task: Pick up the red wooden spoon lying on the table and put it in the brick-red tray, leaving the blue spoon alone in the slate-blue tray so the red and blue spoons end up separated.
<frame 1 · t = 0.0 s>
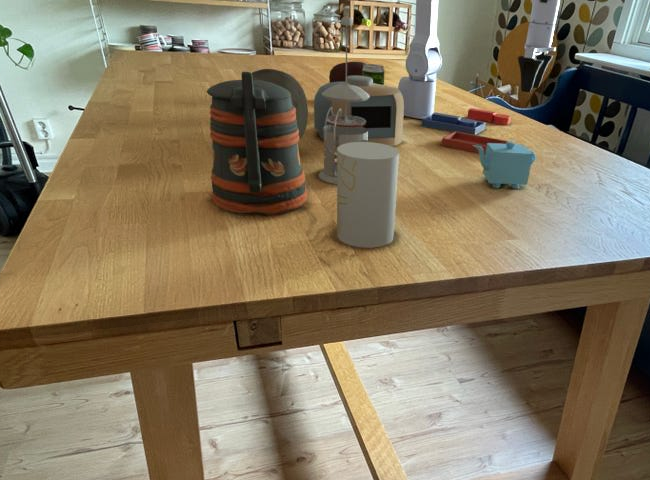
hand: (529, 89, 132), 10 cm above the table, tool pointing down, fingers open, 7 cm apart
cup: (365, 237, 80), on the table
alarm clock: (357, 137, 124), on the table
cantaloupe: (274, 155, 109), on the table
red spoon: (489, 121, 147), on the table
tankard: (262, 207, 86), on the table
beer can: (371, 119, 140), on the table
blue spoon: (454, 126, 138), resting on blue tray
blue tray: (453, 127, 138), on the table
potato: (352, 103, 154), on the table
teapot: (498, 184, 104), on the table
french press: (343, 178, 100), on the table
red tray: (476, 147, 124), on the table
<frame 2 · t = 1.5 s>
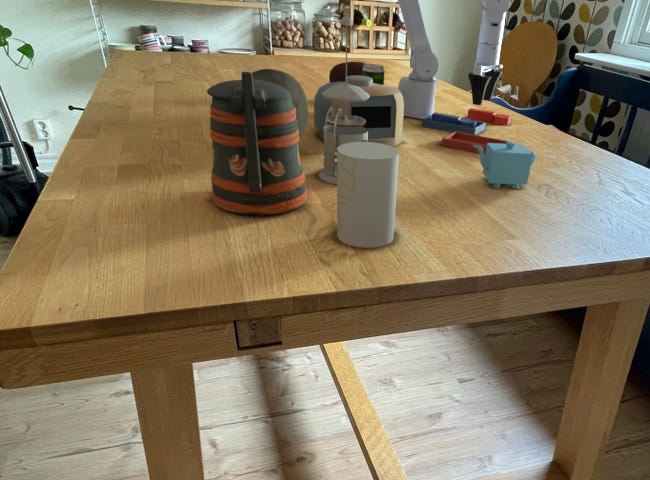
hand: (481, 102, 145), 4 cm above the table, tool pointing down, fingers open, 7 cm apart
nothing on the table moved.
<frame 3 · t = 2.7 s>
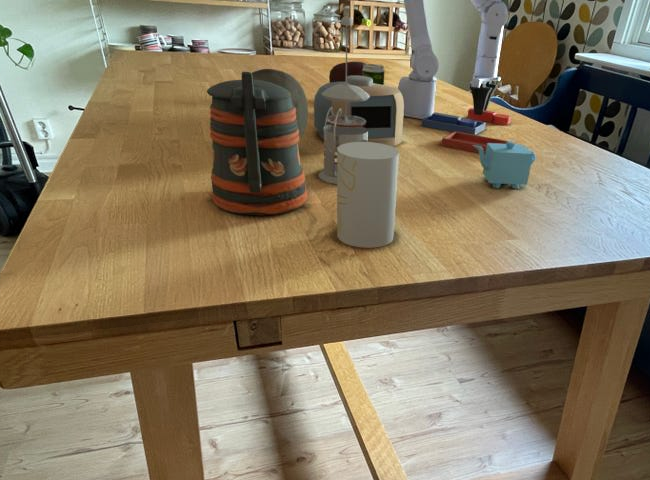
hand: (479, 113, 147), 1 cm above the table, tool pointing down, fingers closed on red spoon, 2 cm apart
red spoon: (489, 121, 147), on the table, touching gripper
everything else where it was.
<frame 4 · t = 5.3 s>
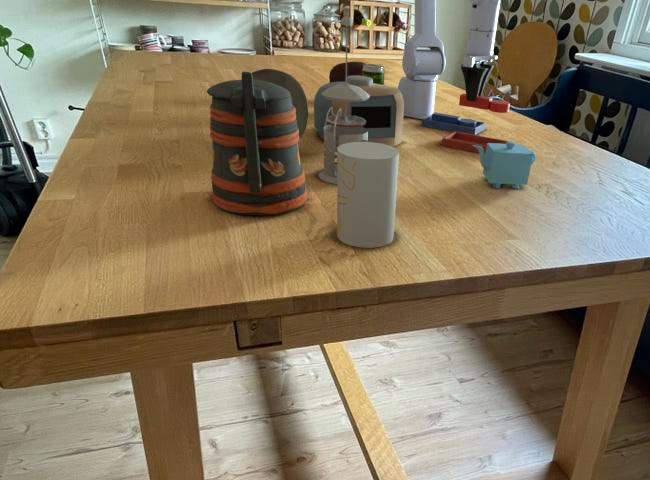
hand: (473, 99, 125), 8 cm above the table, tool pointing down, fingers closed on red spoon, 2 cm apart
red spoon: (485, 108, 125), point 7 cm above the table, touching gripper
everything else where it was.
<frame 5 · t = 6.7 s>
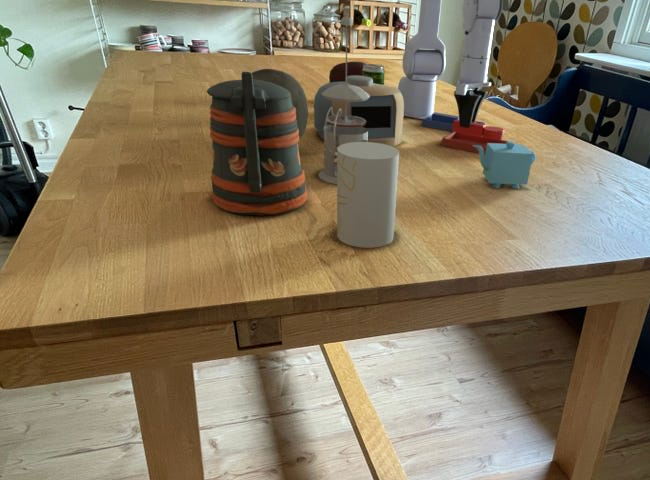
hand: (466, 125, 123), 4 cm above the table, tool pointing down, fingers closed on red spoon, 2 cm apart
red spoon: (479, 134, 122), point 3 cm above the table, touching gripper
everything else where it was.
when the fingers open (2 cm above the table, at t = 7.7 s): red spoon stays where it is, resting on red tray.
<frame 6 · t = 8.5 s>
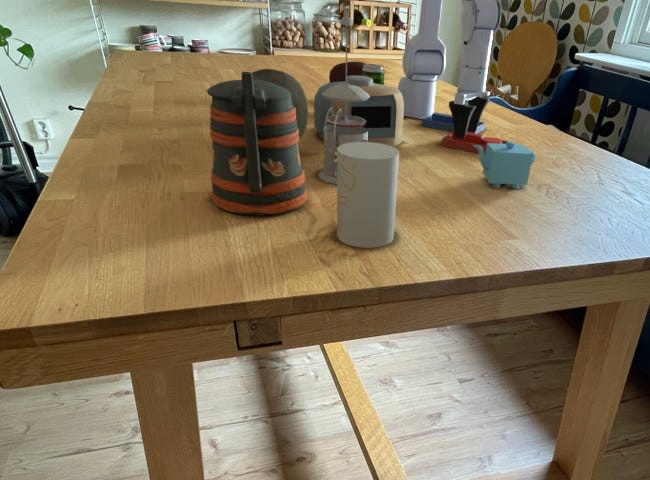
hand: (465, 134, 124), 2 cm above the table, tool pointing down, fingers open, 7 cm apart
red spoon: (477, 145, 124), resting on red tray
everything else where it was.
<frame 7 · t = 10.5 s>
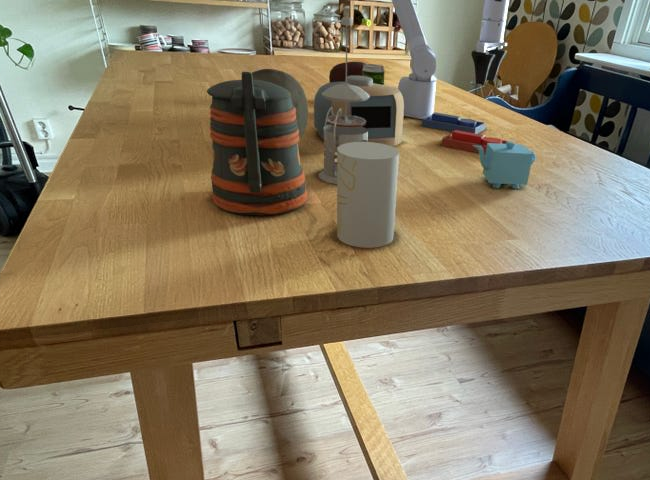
hand: (485, 82, 141), 9 cm above the table, tool pointing down, fingers open, 7 cm apart
nothing on the table moved.
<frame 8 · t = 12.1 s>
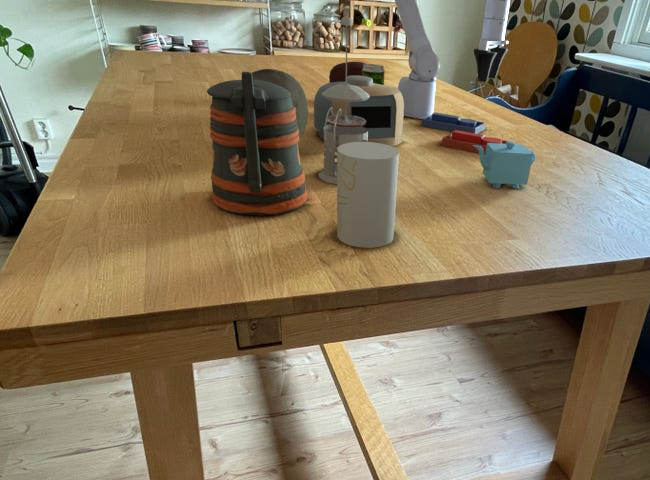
hand: (486, 79, 144), 9 cm above the table, tool pointing down, fingers open, 7 cm apart
nothing on the table moved.
at the end: red spoon inside the target area in the red tray (0.1 cm from its centre), point 0.4 cm above the red tray's base; blue spoon inside the target area in the blue tray (0.3 cm from its centre), point 0.4 cm above the blue tray's base; the gripper is holding nothing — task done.
